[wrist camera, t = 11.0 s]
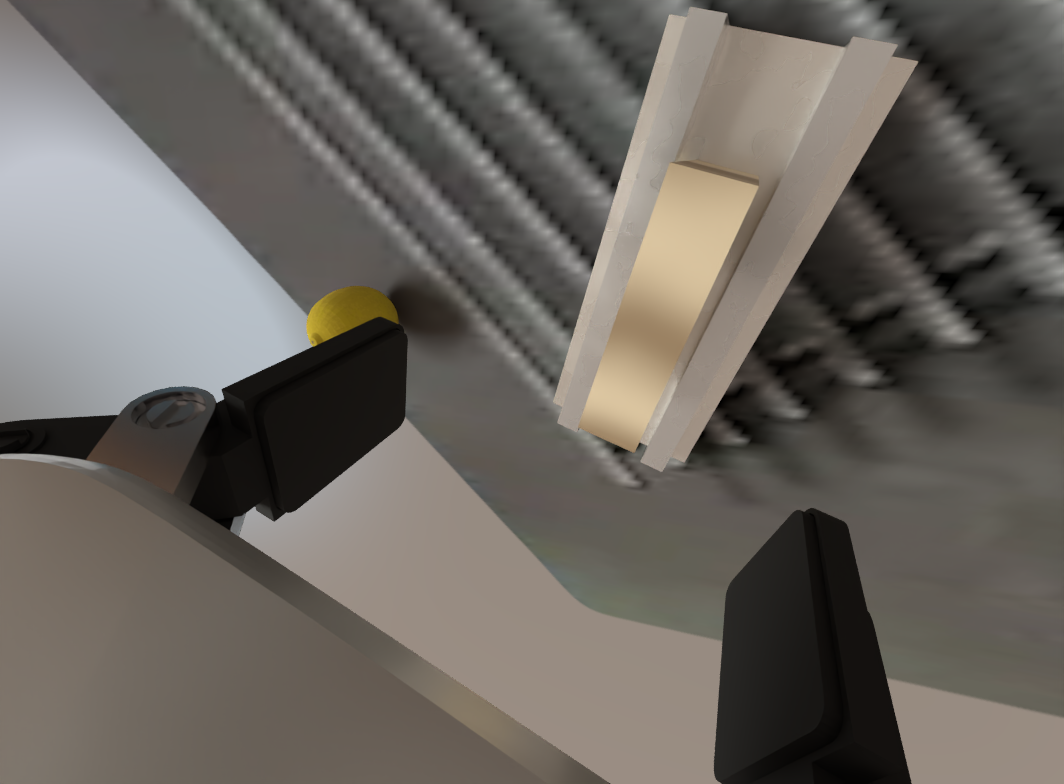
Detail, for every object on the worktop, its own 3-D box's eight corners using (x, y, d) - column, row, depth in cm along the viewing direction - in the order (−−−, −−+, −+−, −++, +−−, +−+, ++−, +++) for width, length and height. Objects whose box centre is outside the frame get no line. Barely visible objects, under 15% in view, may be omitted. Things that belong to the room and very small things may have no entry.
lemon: (423, 296, 33) (346, 329, 27) (411, 351, 37) (340, 392, 30) (369, 263, 34) (282, 288, 28) (362, 319, 38) (282, 353, 31)
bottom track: (673, 21, 20) (661, 1, 17) (909, 66, 17) (935, 51, 15) (559, 395, 32) (541, 415, 30) (686, 452, 30) (679, 480, 27)
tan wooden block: (696, 159, 21) (670, 162, 14) (758, 175, 20) (759, 186, 14) (619, 364, 27) (577, 427, 21) (663, 382, 27) (634, 452, 20)
